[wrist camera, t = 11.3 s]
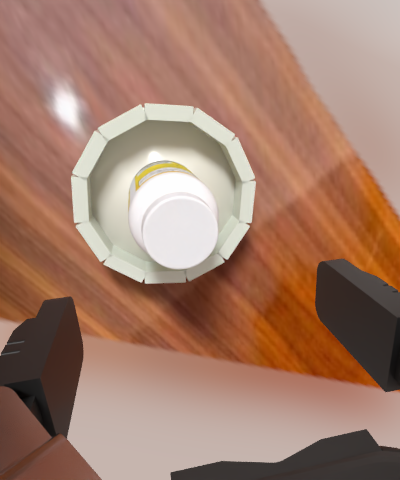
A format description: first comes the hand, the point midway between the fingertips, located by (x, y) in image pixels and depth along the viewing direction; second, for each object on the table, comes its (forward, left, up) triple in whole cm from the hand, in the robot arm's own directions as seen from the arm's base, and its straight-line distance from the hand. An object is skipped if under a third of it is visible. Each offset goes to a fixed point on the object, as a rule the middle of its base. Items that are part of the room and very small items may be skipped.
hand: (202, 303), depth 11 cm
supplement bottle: (0, 0, -17) cm, 17 cm away
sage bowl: (0, 0, -18) cm, 18 cm away
